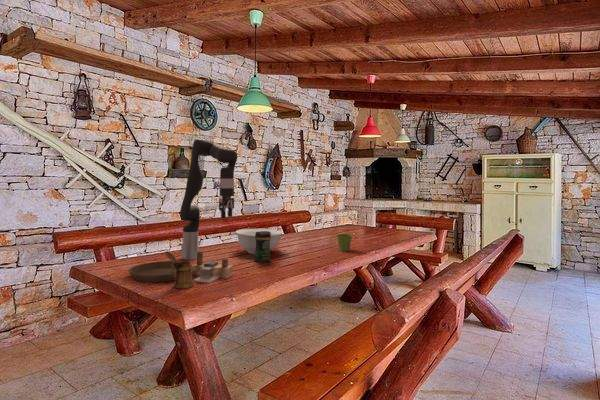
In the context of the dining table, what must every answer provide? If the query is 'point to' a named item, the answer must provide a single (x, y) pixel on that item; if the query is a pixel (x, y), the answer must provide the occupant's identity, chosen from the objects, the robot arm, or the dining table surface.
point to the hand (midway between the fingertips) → (226, 217)
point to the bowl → (249, 241)
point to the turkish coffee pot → (181, 273)
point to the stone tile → (206, 279)
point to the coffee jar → (262, 246)
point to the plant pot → (344, 241)
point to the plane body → (218, 270)
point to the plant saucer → (153, 271)
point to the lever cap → (206, 273)
